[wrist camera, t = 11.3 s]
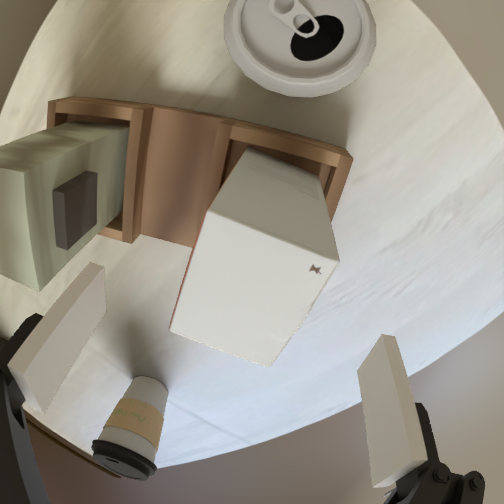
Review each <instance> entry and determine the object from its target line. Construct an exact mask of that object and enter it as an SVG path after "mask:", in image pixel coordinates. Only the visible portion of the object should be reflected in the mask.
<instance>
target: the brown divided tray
mask: <svg viewBox="0 0 504 504" xmlns="http://www.w3.org/2000/svg"><path fill="white" fill-rule="evenodd" d="M247 147H250V148H253V149H255V150H258V151H260V152H263V153H265V154H267V155H270V156H272V157H275V158H277V159H279V160H282V161H284V162H287V163H289V164H291V165H294V166H296V167H299V168H301V169H303V170H305V171H308V172H310V173H312V174H315V175H317V176H319V178H320V182H321V186H322V190H323V194H324V197H325V201H326V205H327V209H328V213H329V217H330V221H332V219H333V216H334V213H335V211H336V208H337V205H338V202H339V199H340V197H341V194H342V191H343V188H344V185H345V182H346V179H347V176H348V174H349V171H350V168H351V165H352V162H353V158H352V156H351V155H350V154H349V153H348V151H347V150H346V149H343V148H340V147H337V146H334V145H331V144H328V143H324V142H321V141H318V140H314V139H311V138H307V137H304V136H300V135H297V134H293V133H289V132H286V131H282V130H278V129H274V128H270V127H266V126H262V125H258V124H254V123H250V122H245V121H241V120H236V119H232V118H227V117H222V116H217V115H212V114H207V113H202V112H196V111H190V110H185V109H179V108H172V107H166V106H159V105H152V104H144V103H137V102H128V101H119V100H109V99H97V98H84V97H67V98H62V99H57V100H52V101H48V113H47V129H46V130H43V131H40V132H37V133H34V134H31V135H29V136H26V137H23V138H21V139H18V140H15V141H13V142H10V143H8V144H5V145H3V146H0V274H1V275H3V276H6V277H8V278H10V279H12V280H14V281H16V282H19V283H21V284H23V285H25V286H27V287H30V288H32V289H34V290H37V291H39V292H40V291H41V290H42V289H43V288H44V287H45V286H46V285H47V284H48V283H49V281H50V280H51V279H52V278H53V277H54V276H55V275H56V274H57V273H58V272H59V271H60V270H61V269H62V268H63V267H64V266H65V265H66V264H67V263H68V262H69V261H70V260H71V259H72V258H73V257H74V256H75V255H76V254H77V253H78V252H79V251H80V250H81V249H82V248H83V247H84V246H85V245H86V244H87V243H88V242H89V241H90V240H91V239H92V238H93V237H94V236H96V235H97V234H98V235H102V236H106V237H109V238H113V239H116V240H120V241H123V242H127V243H130V244H132V243H133V242H134V241H135V239H136V238H137V237H138V236H139V235H140V234H143V235H147V236H150V237H154V238H158V239H162V240H165V241H169V242H173V243H177V244H181V245H184V246H188V247H192V248H193V246H194V243H195V240H196V237H197V234H198V231H199V228H200V225H201V222H202V219H203V216H204V214H205V211H206V209H207V208H208V206H209V205H210V203H211V202H212V200H213V199H214V197H215V196H216V194H217V193H218V191H219V190H220V188H221V187H222V185H223V183H224V182H225V180H226V179H227V177H228V176H229V174H230V172H231V171H232V169H233V168H234V166H235V165H236V163H237V162H238V160H239V159H240V157H241V155H242V154H243V152H244V151H245V149H246V148H247Z"/></svg>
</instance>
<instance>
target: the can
mask: <svg viewBox="0 0 504 504" xmlns="http://www.w3.org/2000/svg"><path fill="white" fill-rule="evenodd" d="M224 39H225V42H226V45H227V47H228V50H229V53H230V55H231V58H232V59H233V60H234V62H235V63H236V64H237V65H238V67H239V68H240V69H241V70H242V72H243V73H244V74H245V75H246V76H247V77H249V78H250V79H252V80H253V81H255V82H256V83H258V84H259V85H260V86H262V87H263V88H265V89H267V90H270V91H274V92H277V93H280V94H283V95H286V96H289V97H310V98H313V97H317V96H322V95H326V94H330V93H335V92H337V91H339V90H340V89H342V88H344V87H345V86H347V85H349V84H350V83H352V82H354V81H355V80H356V79H357V78H358V77H359V76H360V74H361V73H362V72H363V71H364V70H365V69H366V67H367V66H368V65H369V63H370V60H371V57H372V55H373V52H374V49H375V47H376V24H375V21H374V18H373V15H372V13H371V10H370V7H369V5H368V3H367V2H366V1H365V0H230V2H229V5H228V7H227V10H226V13H225V15H224Z"/></svg>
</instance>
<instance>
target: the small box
mask: <svg viewBox="0 0 504 504" xmlns="http://www.w3.org/2000/svg"><path fill="white" fill-rule="evenodd" d="M339 261H340V260H339V255H338V251H337V247H336V242H335V238H334V234H333V229H332V225H331V221H330V217H329V213H328V209H327V205H326V201H325V197H324V194H323V190H322V186H321V182H320V178H319V176H317V175H315V174H312V173H310V172H308V171H305V170H303V169H301V168H299V167H296V166H294V165H291V164H289V163H287V162H284V161H282V160H279V159H277V158H275V157H272V156H270V155H267V154H265V153H263V152H260V151H258V150H255V149H253V148H250V147H247V148H246V149H245V151H244V152H243V154H242V155H241V157H240V159H239V160H238V162H237V163H236V165H235V166H234V168H233V169H232V171H231V172H230V174H229V176H228V177H227V179H226V180H225V182H224V183H223V185H222V187H221V188H220V190H219V191H218V193H217V194H216V196H215V197H214V199H213V200H212V202H211V203H210V205H209V206H208V208H207V209H206V211H205V214H204V216H203V219H202V222H201V225H200V228H199V231H198V234H197V237H196V240H195V243H194V246H193V249H192V252H191V255H190V258H189V262H188V265H187V268H186V271H185V275H184V278H183V281H182V284H181V288H180V291H179V295H178V298H177V302H176V305H175V308H174V312H173V315H172V319H171V323H170V326H169V330H170V331H171V332H173V333H175V334H178V335H180V336H183V337H185V338H188V339H191V340H193V341H196V342H198V343H201V344H204V345H206V346H209V347H212V348H214V349H217V350H220V351H222V352H225V353H228V354H231V355H234V356H237V357H239V358H242V359H245V360H248V361H251V362H254V363H257V364H260V365H263V366H266V367H269V366H271V365H272V364H273V362H274V361H275V360H276V358H277V357H278V356H279V354H280V353H281V352H282V350H283V349H284V348H285V346H286V345H287V343H288V342H289V340H290V339H291V338H292V336H293V335H294V334H295V332H296V331H297V330H298V329H299V327H300V326H301V325H302V323H303V322H304V320H305V319H306V317H307V315H308V314H309V312H310V311H311V309H312V307H313V305H314V303H315V301H316V300H317V298H318V297H319V295H320V293H321V292H322V290H323V289H324V287H325V285H326V284H327V282H328V280H329V279H330V277H331V275H332V274H333V272H334V271H335V269H336V267H337V266H338V264H339Z"/></svg>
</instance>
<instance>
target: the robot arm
mask: <svg viewBox="0 0 504 504" xmlns="http://www.w3.org/2000/svg"><path fill="white" fill-rule="evenodd" d="M106 312H107V306H106V293H105V276H104V266H101V265H97V264H94V263H91V262H90V263H89V264H88V265H87V266H86V267H85V269H84V270H83V271H82V272H81V273H80V274H79V275H78V276H77V278H76V279H75V280H74V281H73V282H72V283H71V284H70V286H69V287H68V288H67V289H66V290H65V291H64V293H63V294H62V295H61V296H60V297H59V299H58V300H57V301H56V302H55V303H54V305H53V306H52V307H51V308H50V309H49V311H48V312H47V313H46V314H45V316H42V315H39V314H37V313H35V314H33V315H32V316H30V317H28V318H27V319H26V320H25V321H24V322H23V323H22V324H21V326H20V327H19V329H17V331H16V332H15V333H14V336H12V337H11V338H10V340H9V341H8V342H7V341H5V340H4V339H2V338H0V504H50V501H49V498H48V496H47V493H46V490H45V487H44V484H43V481H42V478H41V475H40V472H39V469H38V466H37V462H36V459H35V456H34V452H33V448H32V445H31V441H30V437H29V433H28V429H27V424H26V419H25V415H24V409H23V407H22V404H23V403H24V402H25V401H27V403H28V405H29V407H31V408H33V409H35V410H37V411H38V412H40V413H42V414H44V415H45V413H46V411H47V409H48V407H49V405H50V404H51V402H52V400H53V398H54V396H55V395H56V393H57V391H58V389H59V388H60V386H61V384H62V382H63V381H64V379H65V377H66V376H67V374H68V372H69V371H70V369H71V367H72V365H73V364H74V362H75V361H76V359H77V357H78V356H79V354H80V352H81V351H82V349H83V347H84V346H85V344H86V343H87V341H88V339H89V338H90V336H91V335H92V333H93V332H94V330H95V328H96V327H97V325H98V324H99V322H100V321H101V319H102V318H103V316H104V315H105V313H106ZM357 372H358V378H359V385H360V391H361V397H362V404H363V411H364V418H365V426H366V432H367V441H368V450H369V459H370V469H371V479H372V487H388V486H389V485H391V484H392V483H394V482H396V486H397V487H396V488H394V489H393V490H391V491H389V492H388V493H386V494H385V495H384V496H383V497H384V498H385V497H387V496H389V497H388V498H387V500H386V501H385V502H384V504H482V503H483V496H484V490H485V481H484V478H483V476H482V475H481V474H480V473H479V472H477V471H471V472H469V473H467V474H466V475H464V476H463V475H459V474H455V473H451V472H450V470H449V468H448V467H447V466H446V465H445V464H443V463H441V462H440V461H439V457H438V453H437V448H436V444H435V440H434V436H433V432H432V428H431V424H430V420H429V417H428V413H427V411H426V410H425V408H424V406H423V405H422V403H415V402H414V399H413V395H412V391H411V388H410V384H409V381H408V377H407V374H406V370H405V367H404V364H403V360H402V357H401V354H400V351H399V347H398V344H397V341H396V338H395V336H389V335H384V334H381V336H380V338H379V339H378V341H377V342H376V344H375V345H374V347H373V348H372V350H371V351H370V353H369V354H368V356H367V357H366V359H365V360H364V362H363V363H362V365H361V366H360V368H359V369H358V370H357Z"/></svg>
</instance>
